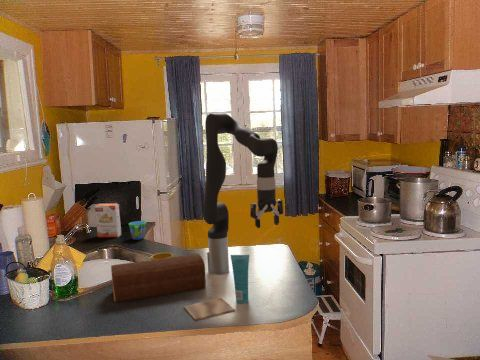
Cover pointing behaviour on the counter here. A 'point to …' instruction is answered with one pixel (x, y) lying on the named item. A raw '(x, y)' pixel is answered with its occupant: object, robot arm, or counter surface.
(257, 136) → the robot arm
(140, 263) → the bread
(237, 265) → the tube
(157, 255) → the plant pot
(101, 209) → the cracker box
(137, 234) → the snack cup
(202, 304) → the cork mat
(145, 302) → the counter surface
